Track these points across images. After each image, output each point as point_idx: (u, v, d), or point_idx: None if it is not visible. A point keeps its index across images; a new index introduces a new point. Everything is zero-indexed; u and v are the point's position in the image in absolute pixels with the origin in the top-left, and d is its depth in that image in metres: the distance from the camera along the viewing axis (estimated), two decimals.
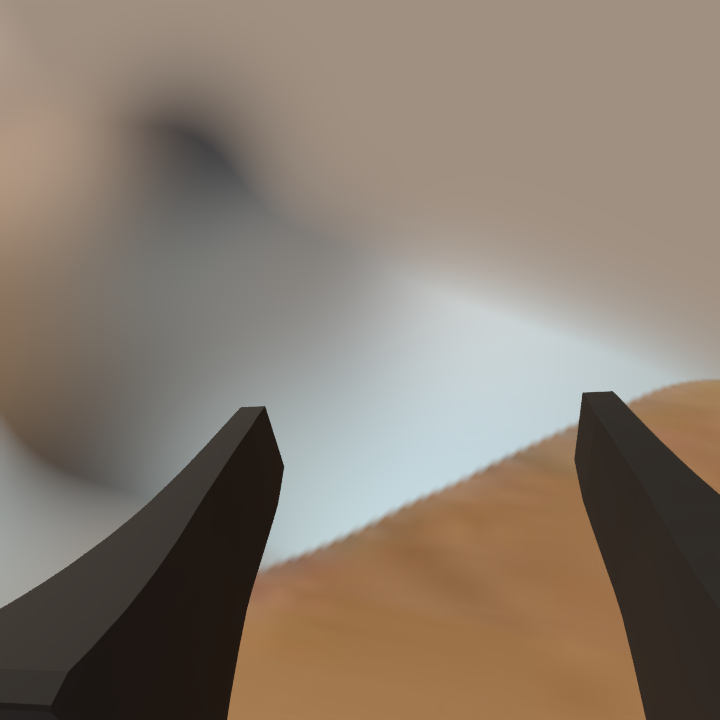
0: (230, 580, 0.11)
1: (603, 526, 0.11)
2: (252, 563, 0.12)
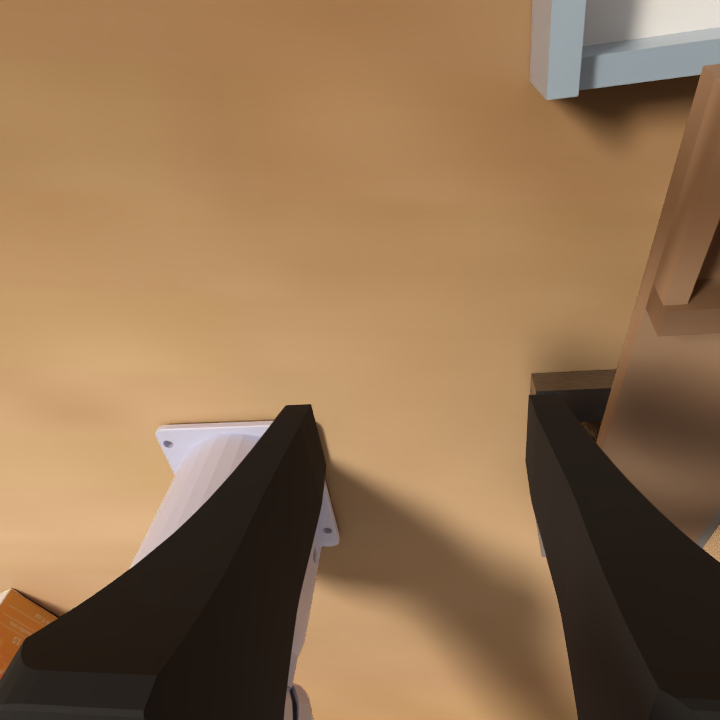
0: (284, 581, 0.10)
1: (546, 526, 0.11)
2: (301, 563, 0.11)
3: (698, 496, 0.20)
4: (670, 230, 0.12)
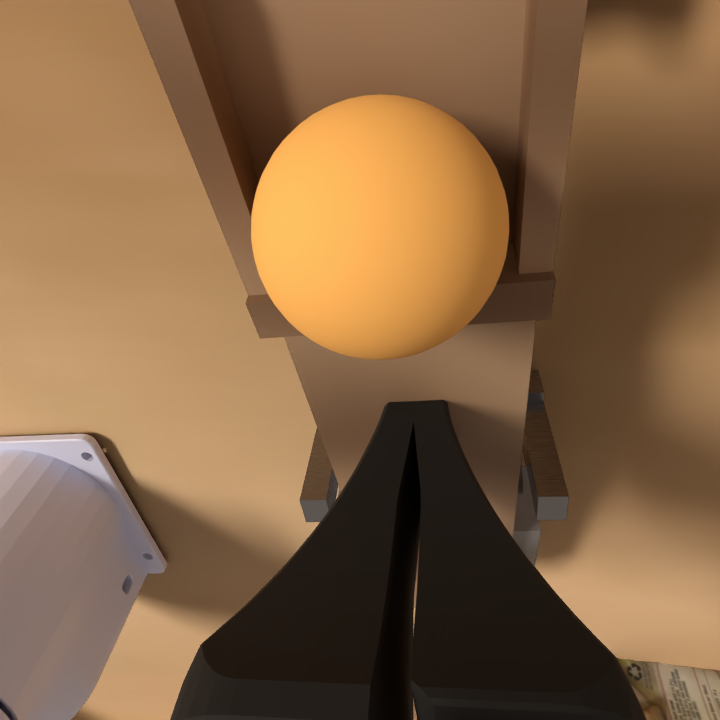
0: (408, 582, 0.10)
1: None
2: (414, 564, 0.11)
3: None
4: None
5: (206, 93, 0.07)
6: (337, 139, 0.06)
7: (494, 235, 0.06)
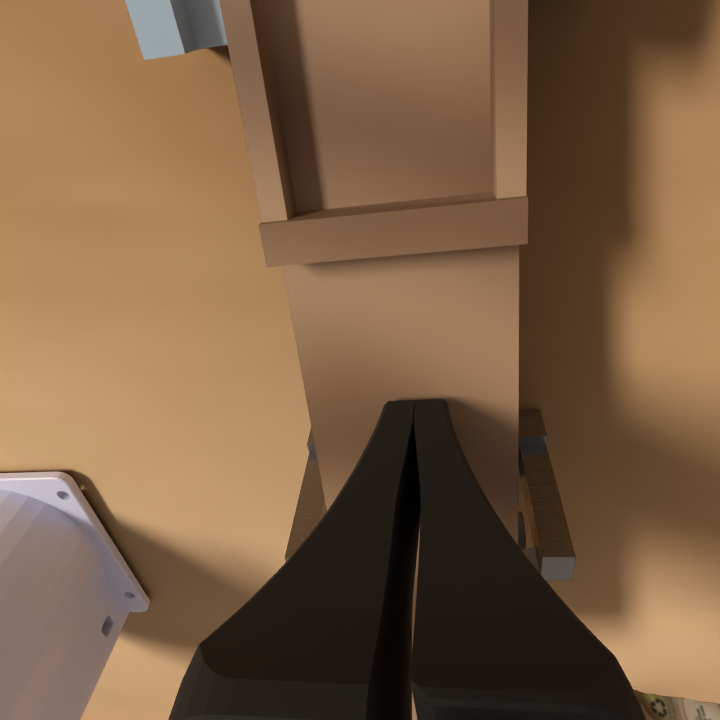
0: (407, 582, 0.10)
1: None
2: (413, 564, 0.11)
3: None
4: None
5: (252, 22, 0.09)
6: None
7: None
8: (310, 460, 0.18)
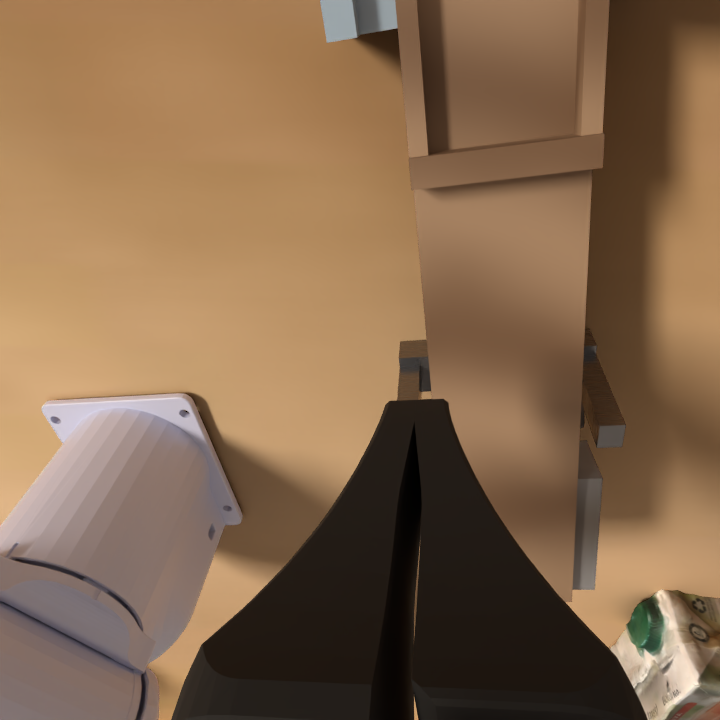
0: (408, 582, 0.10)
1: None
2: (415, 564, 0.11)
3: (549, 460, 0.19)
4: None
5: (416, 14, 0.13)
6: None
7: None
8: (401, 371, 0.22)
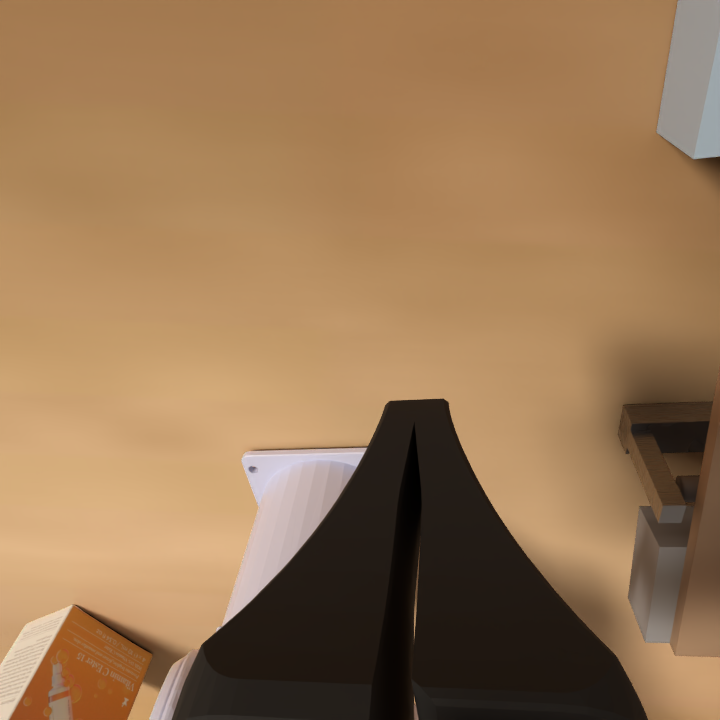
0: (409, 582, 0.10)
1: None
2: (415, 565, 0.11)
3: None
4: None
5: None
6: None
7: None
8: (635, 436, 0.23)
